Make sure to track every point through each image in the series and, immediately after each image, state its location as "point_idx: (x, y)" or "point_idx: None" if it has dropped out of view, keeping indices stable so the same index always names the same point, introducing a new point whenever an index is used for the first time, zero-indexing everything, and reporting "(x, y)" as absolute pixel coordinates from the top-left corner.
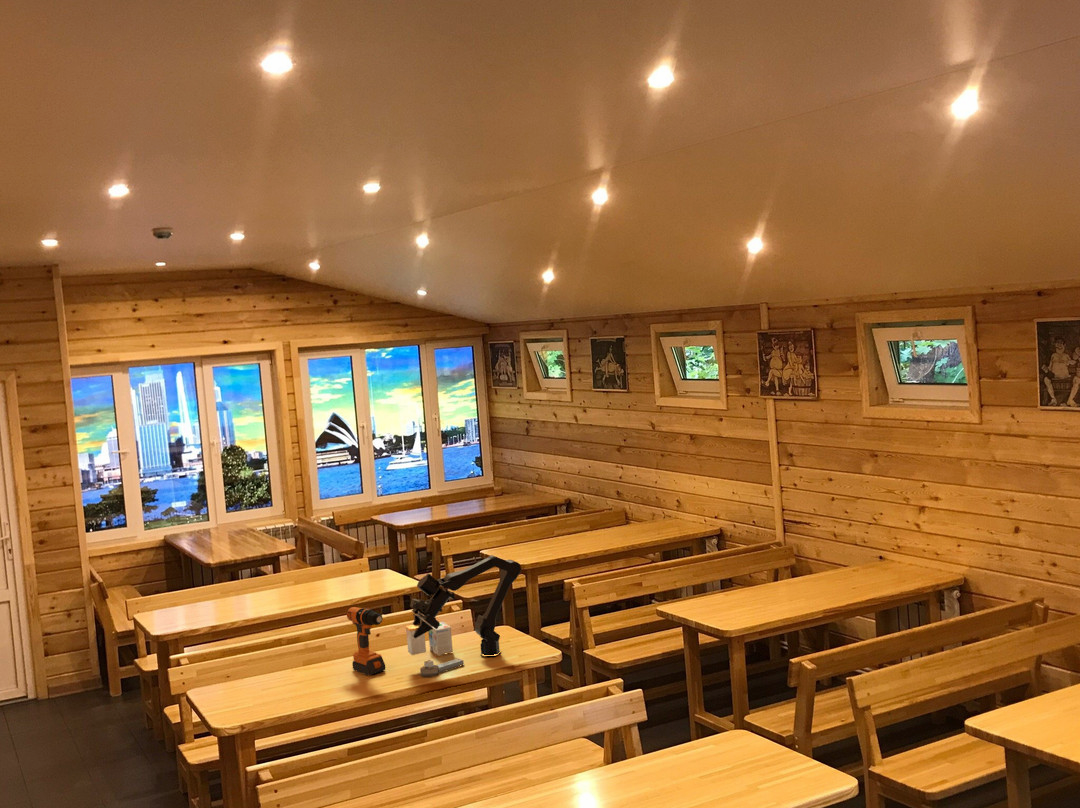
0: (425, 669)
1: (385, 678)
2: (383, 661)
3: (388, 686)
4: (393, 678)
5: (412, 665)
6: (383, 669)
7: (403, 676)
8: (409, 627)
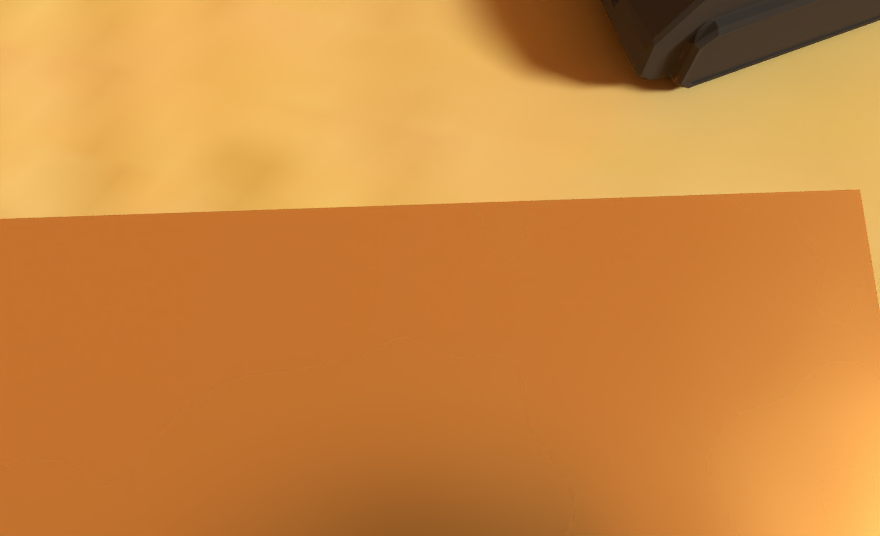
0: None
1: (357, 38)
2: (680, 8)
3: (27, 5)
4: (290, 119)
5: None
6: (625, 49)
7: None
8: (419, 311)
